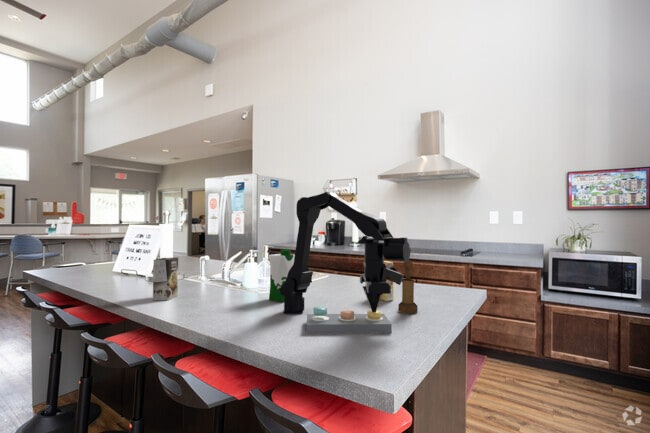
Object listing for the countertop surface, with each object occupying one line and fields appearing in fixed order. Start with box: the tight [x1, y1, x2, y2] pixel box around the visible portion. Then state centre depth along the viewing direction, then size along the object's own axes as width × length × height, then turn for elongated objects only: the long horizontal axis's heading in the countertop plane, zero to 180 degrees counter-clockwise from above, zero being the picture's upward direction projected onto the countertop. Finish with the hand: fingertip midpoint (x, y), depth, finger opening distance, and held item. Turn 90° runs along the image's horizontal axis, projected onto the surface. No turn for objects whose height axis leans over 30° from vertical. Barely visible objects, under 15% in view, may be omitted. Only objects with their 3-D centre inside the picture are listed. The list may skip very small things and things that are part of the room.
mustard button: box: [366, 309, 382, 319], centre depth 103 cm, size 4×4×2 cm
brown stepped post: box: [397, 259, 418, 315], centre depth 122 cm, size 7×6×18 cm
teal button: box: [313, 306, 328, 316], centre depth 103 cm, size 4×4×2 cm
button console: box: [305, 313, 393, 334], centre depth 103 cm, size 24×11×3 cm, turn 92°
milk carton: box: [268, 249, 295, 303], centre depth 139 cm, size 9×9×20 cm
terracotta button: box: [340, 309, 355, 319], centre depth 103 cm, size 4×4×2 cm
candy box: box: [379, 260, 395, 302], centre depth 141 cm, size 9×4×15 cm, turn 33°
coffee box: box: [152, 257, 179, 301], centre depth 141 cm, size 9×6×16 cm
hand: (373, 311), depth 103 cm, fingers closed, pressing on mustard button
